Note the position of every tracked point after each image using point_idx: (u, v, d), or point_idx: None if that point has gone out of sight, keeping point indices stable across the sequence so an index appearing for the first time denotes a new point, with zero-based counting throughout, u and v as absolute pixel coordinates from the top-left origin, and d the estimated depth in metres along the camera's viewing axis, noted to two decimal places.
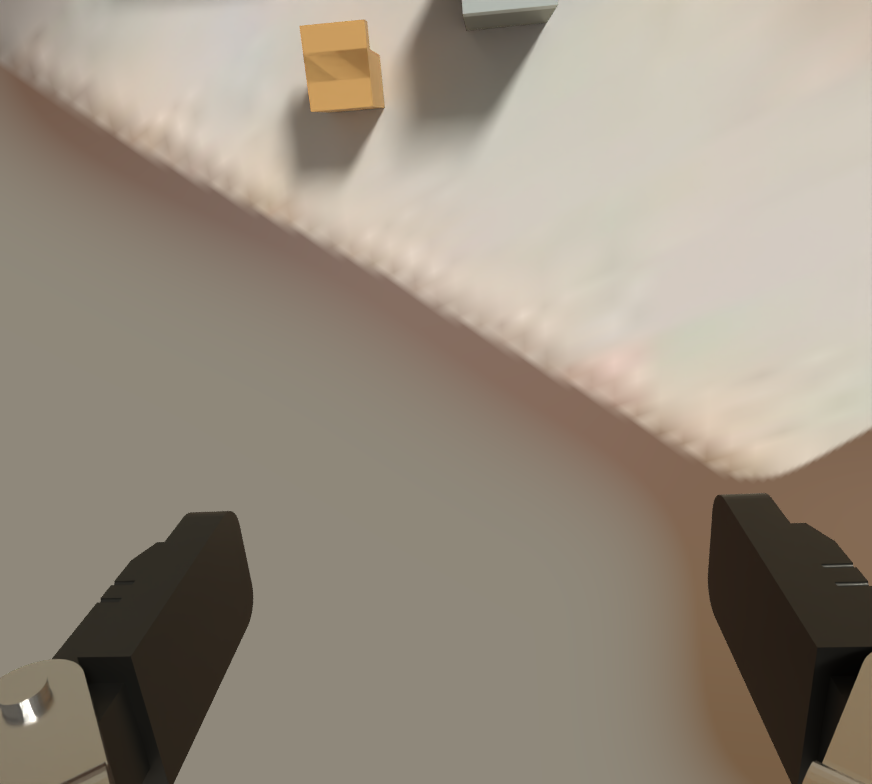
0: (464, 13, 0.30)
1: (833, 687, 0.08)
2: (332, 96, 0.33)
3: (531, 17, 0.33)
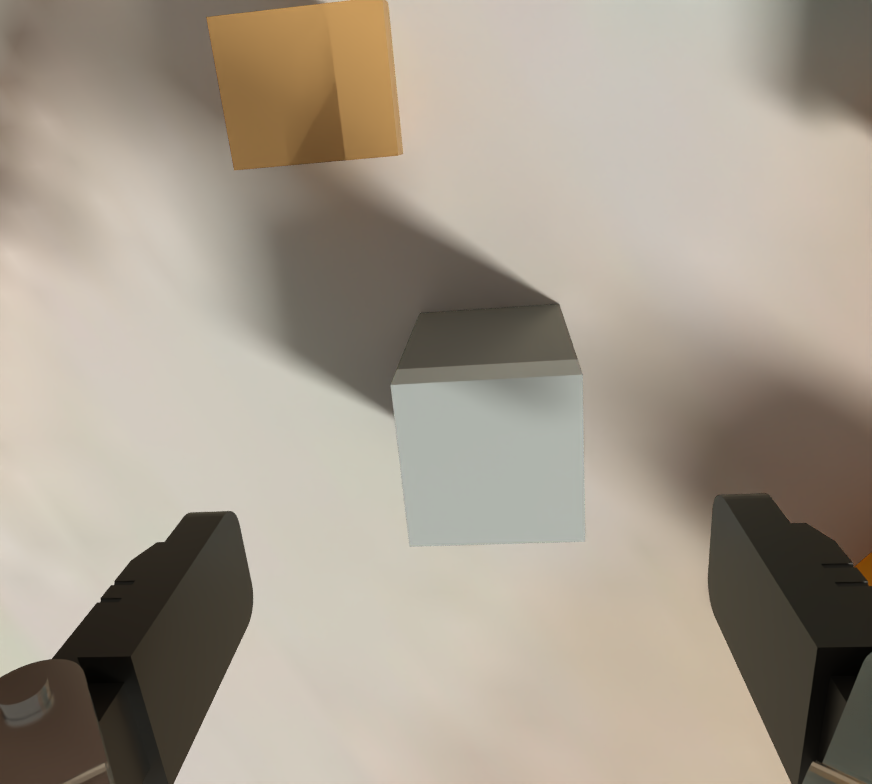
0: (392, 387, 0.15)
1: (832, 687, 0.08)
2: (243, 73, 0.15)
3: None
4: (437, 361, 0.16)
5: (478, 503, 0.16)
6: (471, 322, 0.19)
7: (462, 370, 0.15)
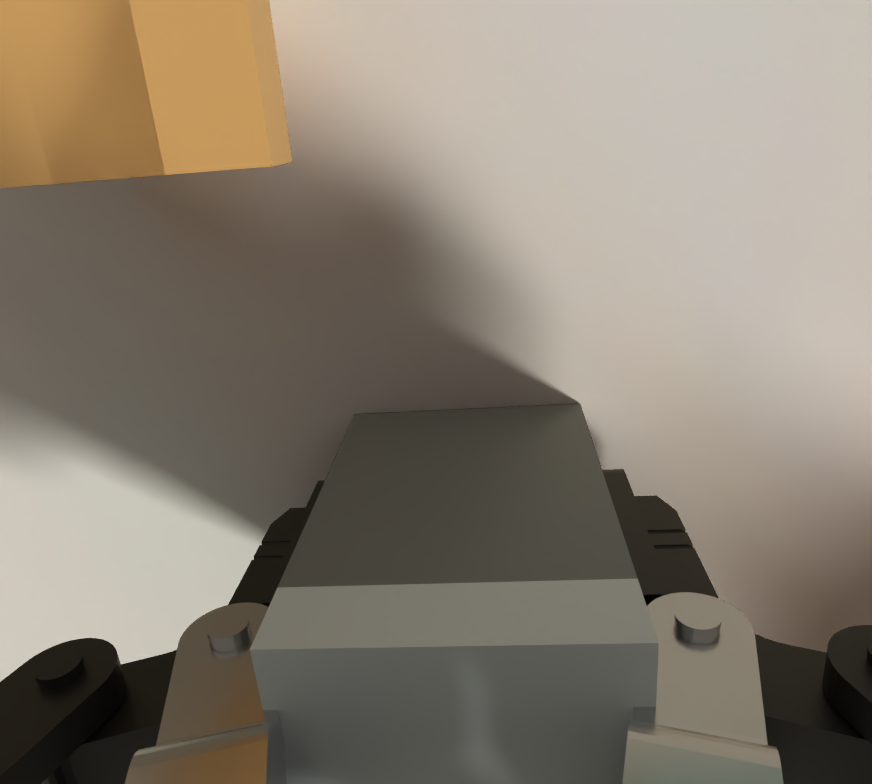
0: (254, 651, 0.07)
1: None
2: None
3: None
4: (359, 564, 0.08)
5: None
6: (434, 444, 0.11)
7: (403, 603, 0.07)
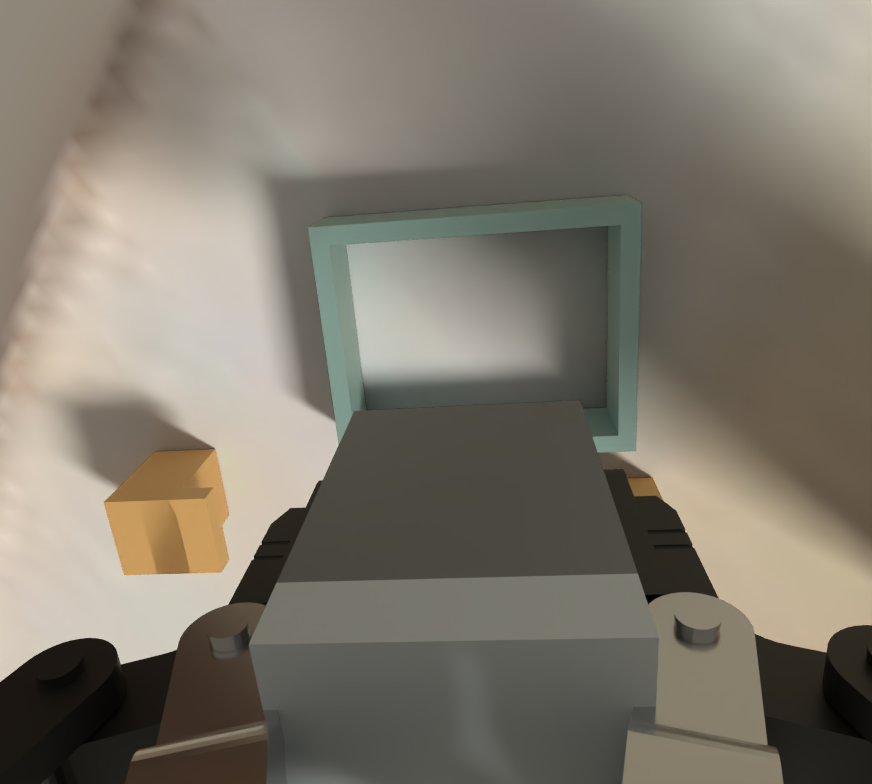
0: (253, 646, 0.07)
1: None
2: (127, 529, 0.25)
3: None
4: (359, 559, 0.08)
5: None
6: (434, 441, 0.11)
7: (403, 597, 0.07)
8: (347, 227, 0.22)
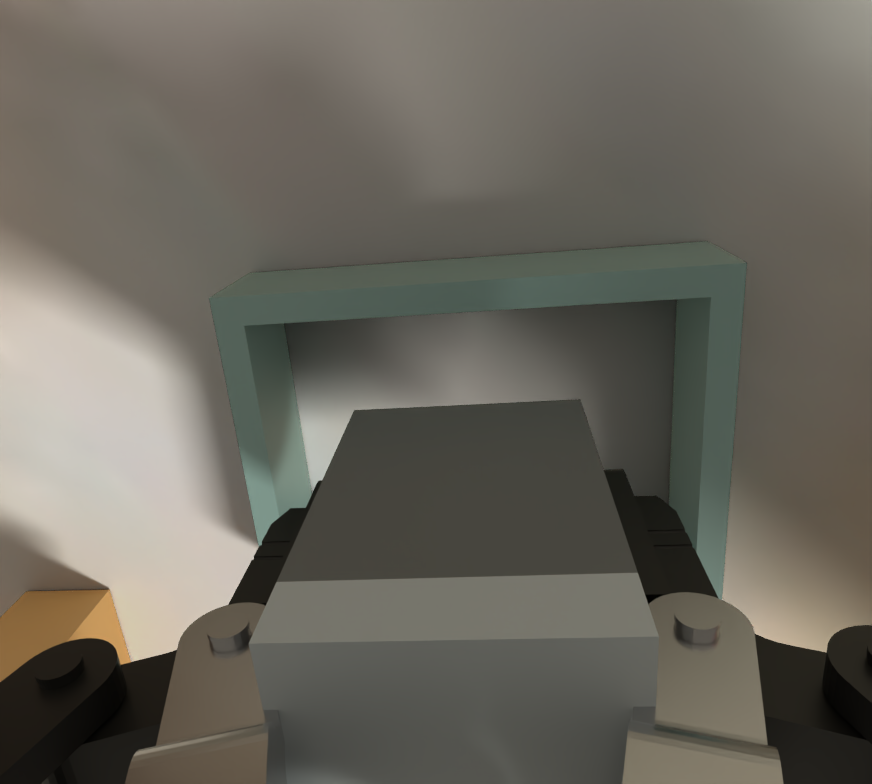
0: (253, 645, 0.07)
1: None
2: None
3: None
4: (359, 559, 0.08)
5: None
6: (434, 440, 0.11)
7: (403, 596, 0.07)
8: (271, 298, 0.14)
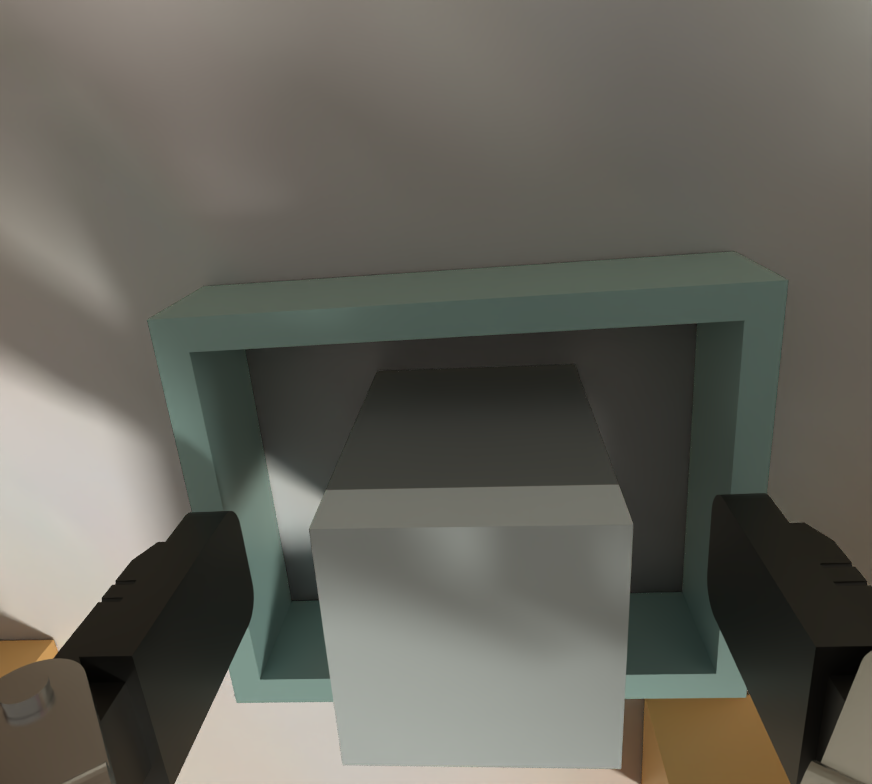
0: (312, 531, 0.09)
1: (830, 686, 0.08)
2: None
3: None
4: (392, 475, 0.10)
5: (452, 709, 0.10)
6: (449, 393, 0.13)
7: (429, 499, 0.09)
8: (221, 320, 0.12)
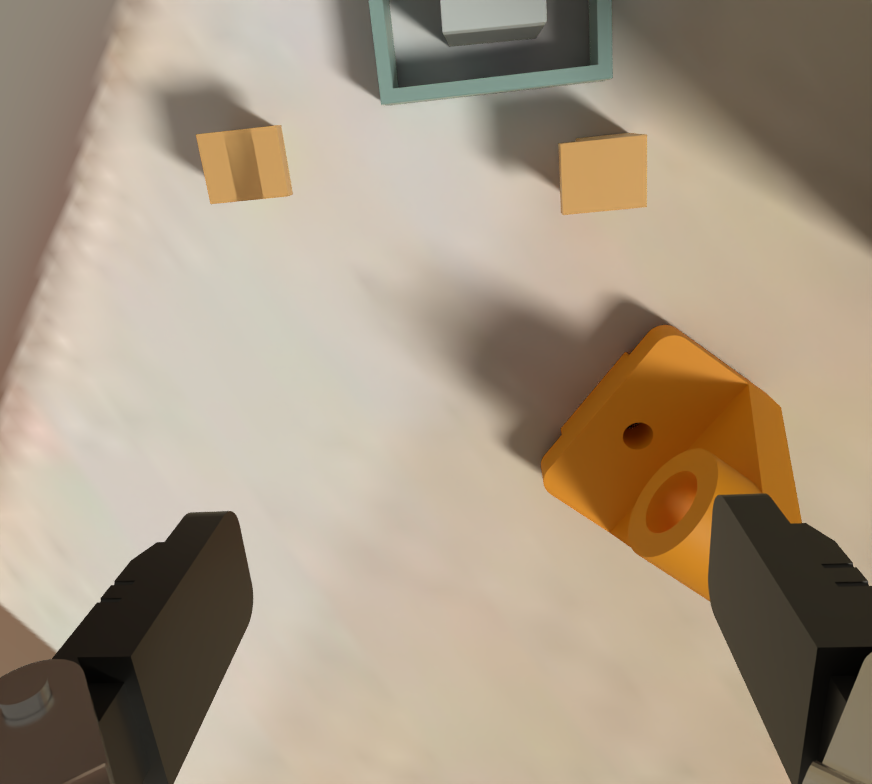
0: None
1: (832, 687, 0.08)
2: (214, 159, 0.31)
3: None
4: None
5: None
6: None
7: None
8: None
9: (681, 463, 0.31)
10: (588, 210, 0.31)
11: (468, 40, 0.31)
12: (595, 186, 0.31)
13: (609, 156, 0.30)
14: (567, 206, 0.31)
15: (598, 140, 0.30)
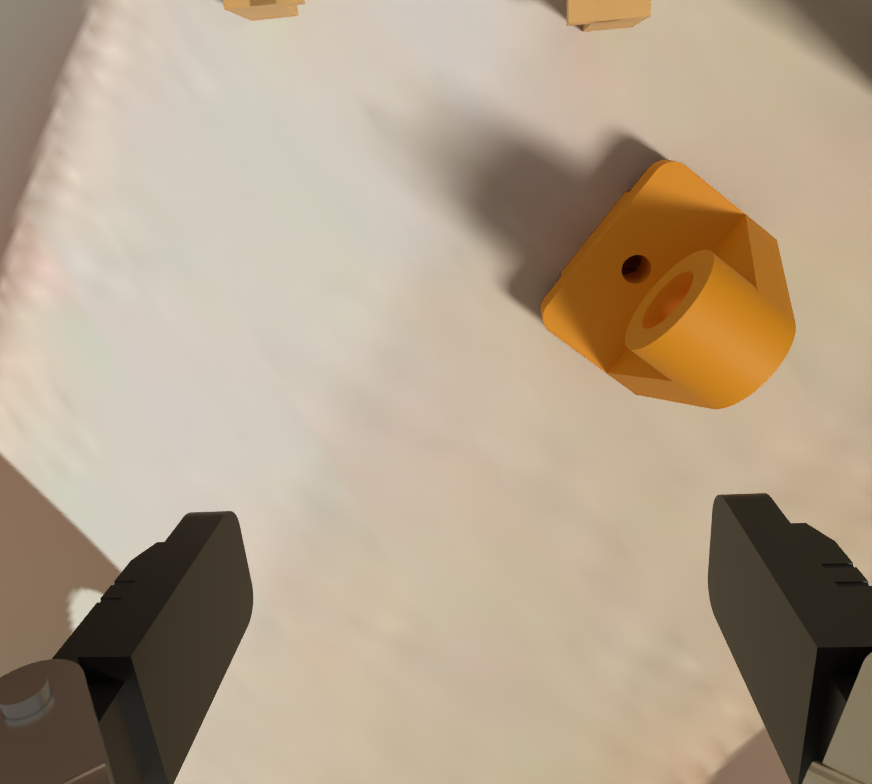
0: None
1: (832, 687, 0.08)
2: None
3: None
4: None
5: None
6: None
7: None
8: None
9: (678, 269, 0.32)
10: (593, 19, 0.32)
11: None
12: None
13: None
14: (573, 14, 0.32)
15: None
